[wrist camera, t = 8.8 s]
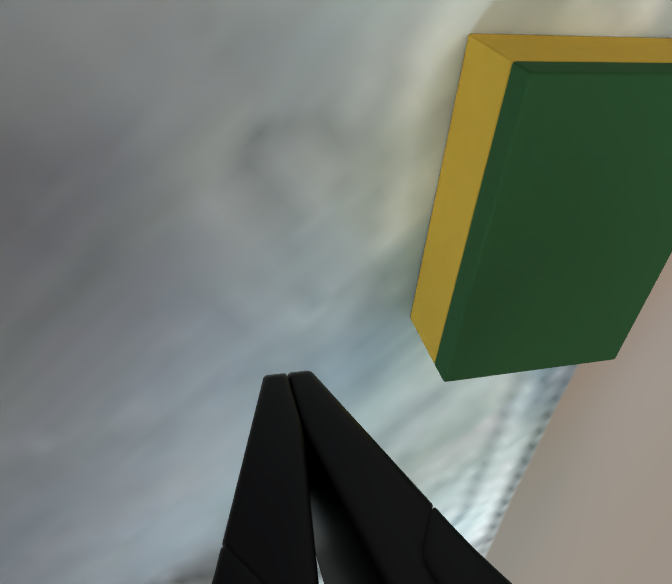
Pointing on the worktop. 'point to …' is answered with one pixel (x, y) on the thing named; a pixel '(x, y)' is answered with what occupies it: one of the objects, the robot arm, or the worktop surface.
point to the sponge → (548, 203)
